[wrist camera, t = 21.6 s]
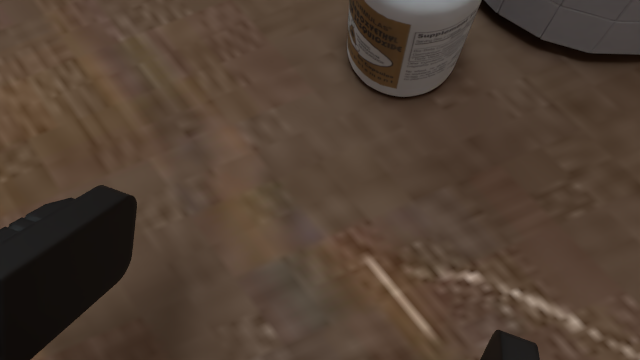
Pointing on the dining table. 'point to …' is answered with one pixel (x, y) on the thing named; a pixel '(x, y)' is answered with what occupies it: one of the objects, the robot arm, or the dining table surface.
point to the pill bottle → (407, 42)
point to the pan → (578, 22)
